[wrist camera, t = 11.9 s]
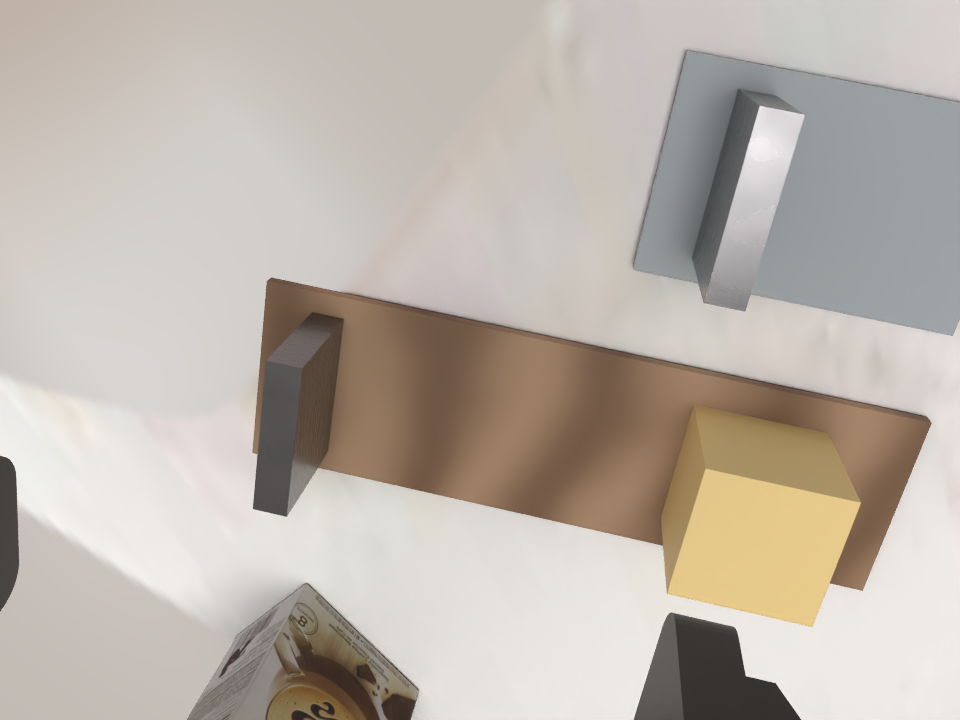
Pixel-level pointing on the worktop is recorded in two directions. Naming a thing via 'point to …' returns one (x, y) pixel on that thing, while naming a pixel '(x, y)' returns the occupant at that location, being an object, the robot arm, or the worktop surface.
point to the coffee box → (304, 670)
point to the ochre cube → (756, 516)
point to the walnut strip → (525, 418)
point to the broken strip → (808, 194)
